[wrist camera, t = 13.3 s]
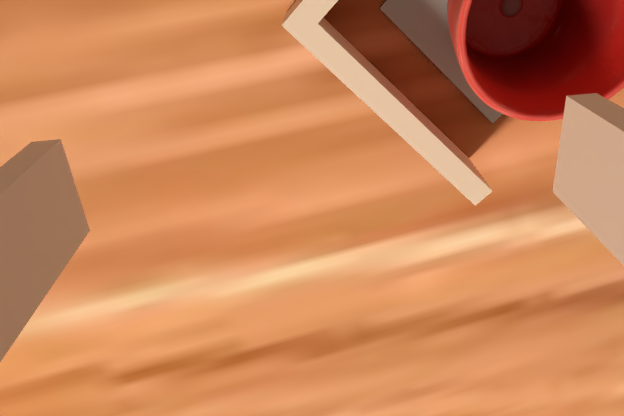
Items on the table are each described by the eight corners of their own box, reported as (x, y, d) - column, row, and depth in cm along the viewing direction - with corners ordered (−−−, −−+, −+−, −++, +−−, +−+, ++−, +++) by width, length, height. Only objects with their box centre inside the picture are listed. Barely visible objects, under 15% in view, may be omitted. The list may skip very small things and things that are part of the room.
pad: (379, 8, 37) (379, 8, 36) (520, -147, 33) (522, -148, 32) (491, 122, 40) (492, 123, 40) (630, -5, 36) (633, -4, 36)
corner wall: (286, 12, 37) (281, 25, 31) (485, -225, 31) (521, -259, 25) (454, 171, 42) (475, 205, 37) (652, -6, 36) (711, 4, 31)
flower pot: (581, 69, 38) (660, 107, 29) (426, 91, 39) (459, 135, 30) (595, -101, 33) (694, -115, 25) (418, -73, 34) (454, -76, 25)
